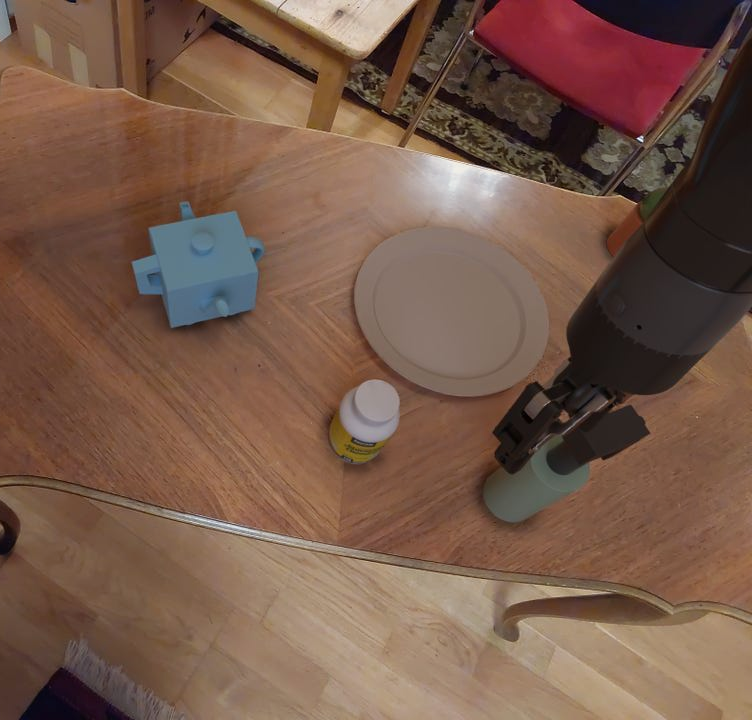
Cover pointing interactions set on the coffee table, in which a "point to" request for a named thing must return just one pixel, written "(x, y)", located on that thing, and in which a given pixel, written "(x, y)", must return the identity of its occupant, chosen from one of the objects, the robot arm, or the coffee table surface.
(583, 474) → the spray bottle
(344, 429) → the pill bottle
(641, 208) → the plant pot
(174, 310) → the teapot
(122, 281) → the coffee table surface
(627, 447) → the trigger
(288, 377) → the coffee table surface
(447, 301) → the plate
